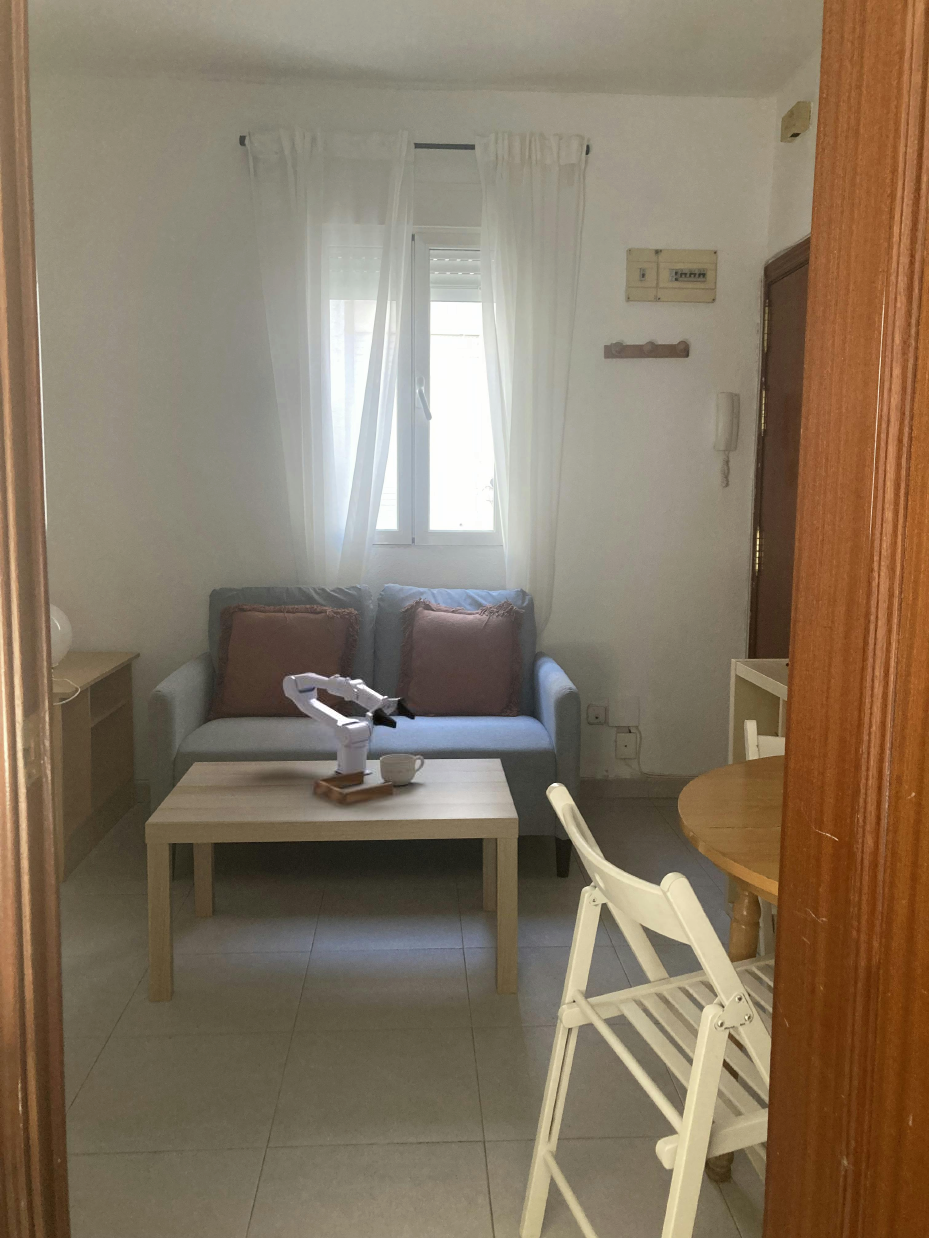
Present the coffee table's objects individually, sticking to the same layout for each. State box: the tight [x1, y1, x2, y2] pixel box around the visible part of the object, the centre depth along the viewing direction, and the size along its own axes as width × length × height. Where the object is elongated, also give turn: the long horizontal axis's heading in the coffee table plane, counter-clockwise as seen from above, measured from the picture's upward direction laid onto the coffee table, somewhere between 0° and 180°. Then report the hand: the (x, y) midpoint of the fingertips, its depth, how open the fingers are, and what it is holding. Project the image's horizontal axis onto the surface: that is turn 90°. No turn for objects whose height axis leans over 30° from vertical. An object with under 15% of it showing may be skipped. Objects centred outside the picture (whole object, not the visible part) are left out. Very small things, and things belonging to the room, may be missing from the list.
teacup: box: [379, 753, 425, 786], centre depth 283 cm, size 14×11×8 cm
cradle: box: [313, 770, 394, 807], centre depth 272 cm, size 16×17×4 cm
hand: (405, 720), depth 277 cm, fingers open, 7 cm apart
